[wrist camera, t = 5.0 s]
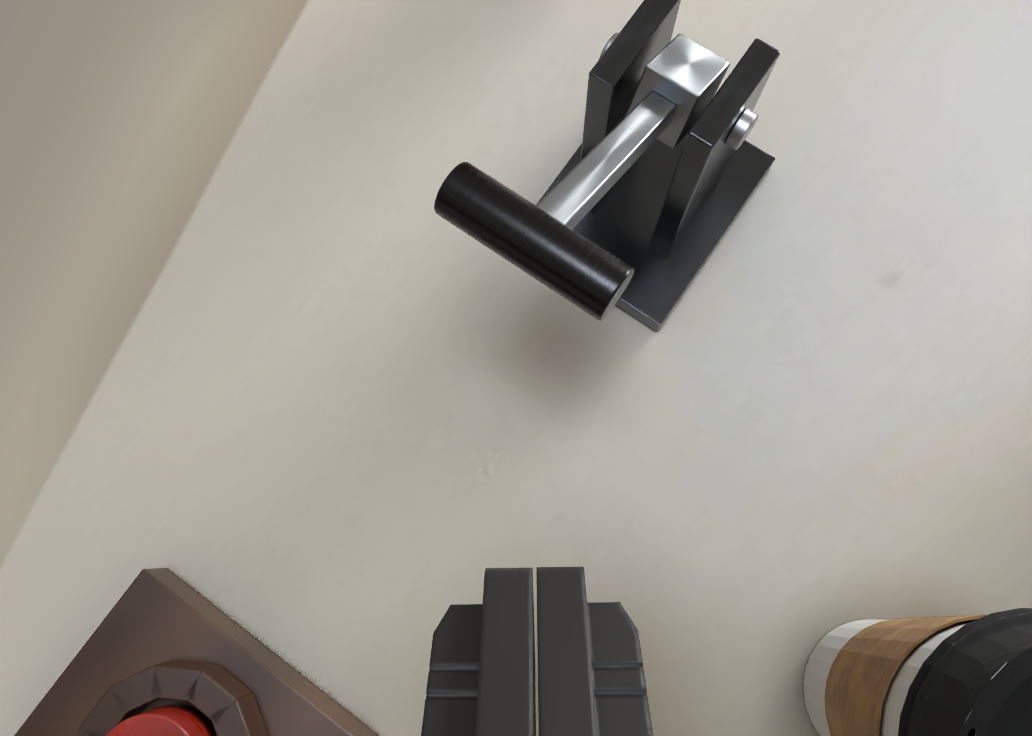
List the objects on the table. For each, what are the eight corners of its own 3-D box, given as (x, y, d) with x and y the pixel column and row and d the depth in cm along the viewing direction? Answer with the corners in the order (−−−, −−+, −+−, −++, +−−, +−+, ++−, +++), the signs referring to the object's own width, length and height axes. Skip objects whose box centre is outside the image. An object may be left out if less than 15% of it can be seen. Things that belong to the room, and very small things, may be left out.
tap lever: (590, 338, 24) (616, 287, 22) (428, 230, 25) (439, 173, 23) (747, 140, 31) (777, 88, 29) (615, 61, 32) (635, 6, 30)
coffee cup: (798, 562, 35) (978, 569, 21) (993, 626, 35) (1323, 679, 20) (749, 760, 34) (908, 919, 19) (953, 831, 33) (1282, 1055, 18)
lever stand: (656, 332, 38) (706, 236, 26) (516, 241, 39) (505, 112, 28) (769, 169, 40) (861, 12, 28) (631, 87, 41) (666, -96, 29)
